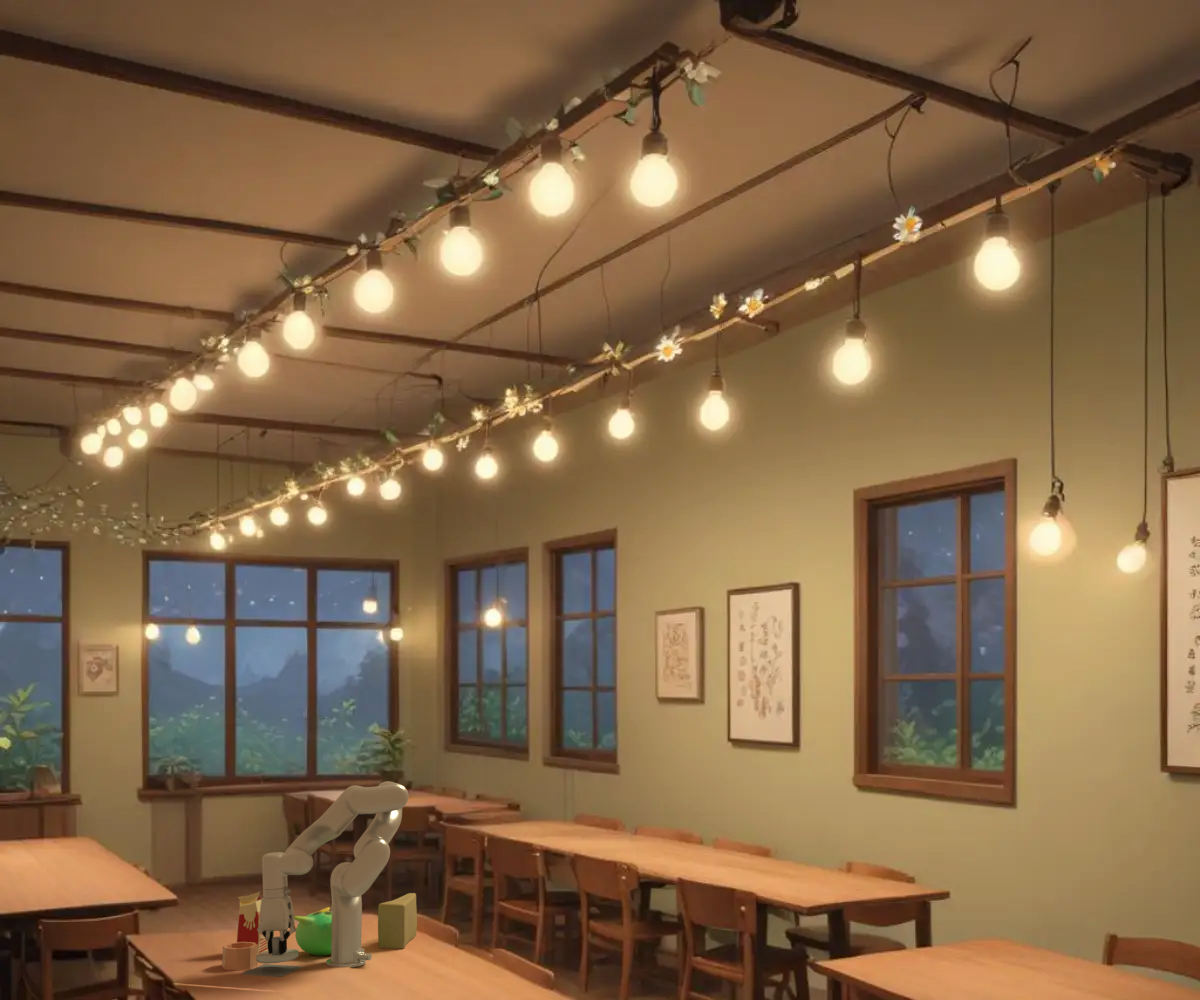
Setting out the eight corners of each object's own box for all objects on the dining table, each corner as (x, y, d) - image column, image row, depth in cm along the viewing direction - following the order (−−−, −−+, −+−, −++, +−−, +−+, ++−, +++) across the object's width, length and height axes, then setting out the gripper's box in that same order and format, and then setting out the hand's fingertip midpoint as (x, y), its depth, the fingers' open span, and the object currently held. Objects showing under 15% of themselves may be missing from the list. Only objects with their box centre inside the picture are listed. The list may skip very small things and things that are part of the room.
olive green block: (401, 935, 466) (401, 891, 467) (427, 936, 463) (427, 892, 465) (376, 948, 444) (377, 902, 446) (403, 949, 442) (404, 903, 444)
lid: (306, 952, 416) (305, 932, 417) (285, 963, 404) (284, 942, 404) (270, 952, 420) (269, 932, 420) (248, 962, 407) (247, 942, 408)
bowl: (262, 965, 420) (262, 943, 420) (244, 972, 410) (245, 949, 411) (234, 963, 423) (235, 941, 423) (216, 970, 413) (217, 947, 414)
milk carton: (268, 951, 441) (269, 889, 443) (258, 957, 432) (260, 894, 434) (242, 950, 442) (243, 889, 444) (231, 956, 433) (233, 894, 435)
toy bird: (356, 949, 442) (356, 904, 444) (341, 961, 425) (342, 914, 427) (303, 949, 444) (304, 904, 445) (287, 960, 427) (288, 913, 429)
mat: (303, 968, 415) (303, 966, 415) (280, 978, 402) (280, 976, 402) (264, 965, 419) (264, 963, 419) (240, 975, 406) (240, 973, 406)
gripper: (304, 890, 415) (306, 950, 413) (258, 890, 420) (260, 949, 418) (292, 895, 408) (294, 956, 406) (246, 895, 412) (247, 955, 411)
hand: (277, 952), depth 412 cm, fingers closed on lid, 3 cm apart
